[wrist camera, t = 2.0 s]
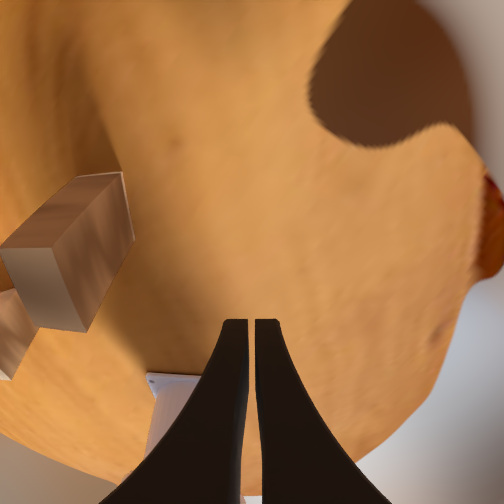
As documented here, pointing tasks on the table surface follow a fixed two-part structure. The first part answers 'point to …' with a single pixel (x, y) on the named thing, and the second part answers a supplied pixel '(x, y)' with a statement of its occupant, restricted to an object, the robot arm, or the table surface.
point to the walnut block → (71, 251)
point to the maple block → (13, 333)
